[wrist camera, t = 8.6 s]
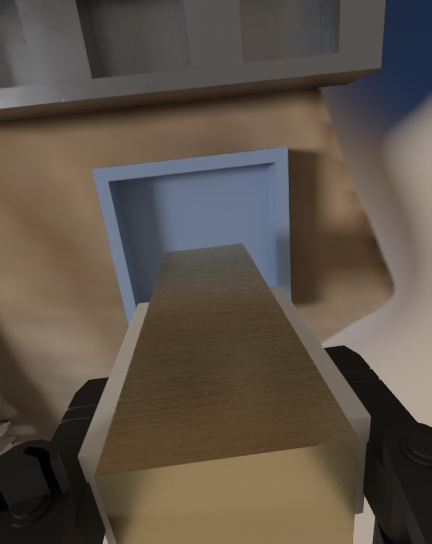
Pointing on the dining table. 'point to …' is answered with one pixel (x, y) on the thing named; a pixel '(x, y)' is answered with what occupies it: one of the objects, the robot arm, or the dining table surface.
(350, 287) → the dining table surface
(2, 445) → the caliper
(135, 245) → the tray
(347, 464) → the brass peg
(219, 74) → the socket rail
